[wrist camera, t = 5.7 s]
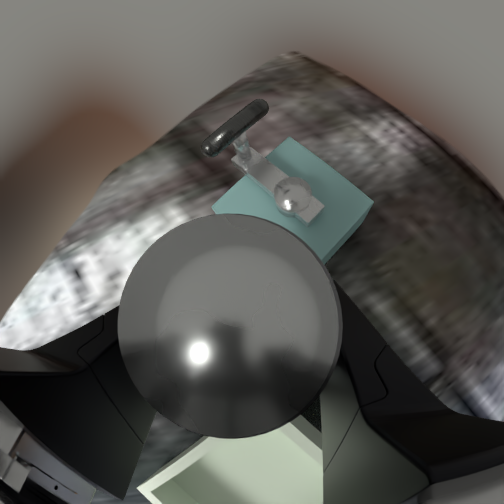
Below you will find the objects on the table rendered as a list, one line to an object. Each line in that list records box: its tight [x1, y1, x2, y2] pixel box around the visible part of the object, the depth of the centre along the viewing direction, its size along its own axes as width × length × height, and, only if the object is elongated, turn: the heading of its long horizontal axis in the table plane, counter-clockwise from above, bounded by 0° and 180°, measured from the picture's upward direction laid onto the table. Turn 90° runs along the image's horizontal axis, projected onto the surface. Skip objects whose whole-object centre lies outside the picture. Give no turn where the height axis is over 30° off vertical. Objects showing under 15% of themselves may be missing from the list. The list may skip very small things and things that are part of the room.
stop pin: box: [118, 214, 343, 439], centre depth 10 cm, size 4×4×11 cm
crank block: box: [212, 137, 374, 264], centre depth 22 cm, size 8×8×4 cm
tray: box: [137, 415, 323, 504], centre depth 16 cm, size 13×13×4 cm
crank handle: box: [201, 99, 325, 228], centre depth 18 cm, size 7×5×5 cm
